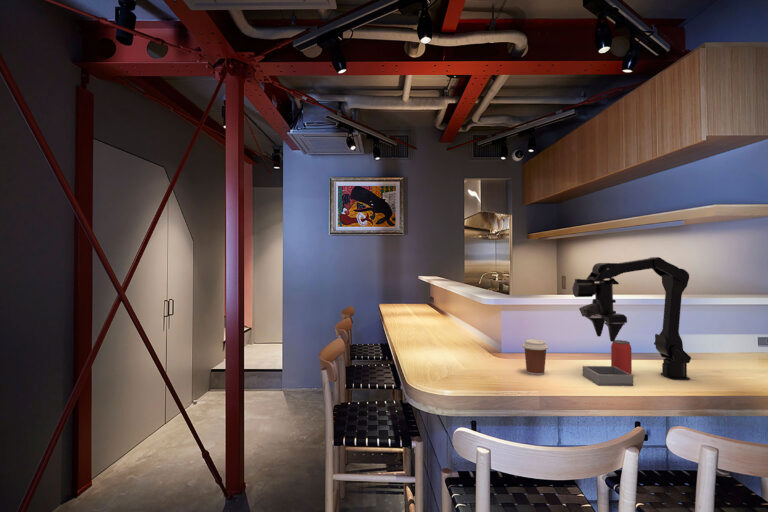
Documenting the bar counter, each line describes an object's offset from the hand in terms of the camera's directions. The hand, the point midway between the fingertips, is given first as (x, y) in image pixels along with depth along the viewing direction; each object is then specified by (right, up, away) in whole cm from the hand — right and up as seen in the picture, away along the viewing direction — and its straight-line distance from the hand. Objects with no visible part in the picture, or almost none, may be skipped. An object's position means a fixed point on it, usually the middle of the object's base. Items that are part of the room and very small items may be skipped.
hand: (605, 338), depth 146 cm
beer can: (+7, -14, +2) cm, 16 cm away
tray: (-3, -13, -6) cm, 15 cm away
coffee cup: (-25, -14, +4) cm, 28 cm away
